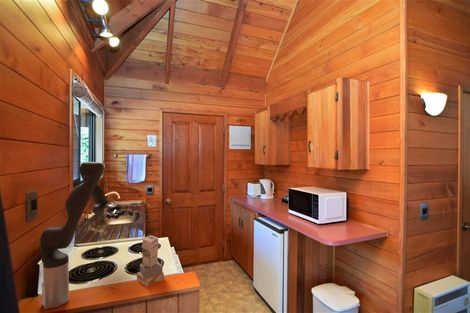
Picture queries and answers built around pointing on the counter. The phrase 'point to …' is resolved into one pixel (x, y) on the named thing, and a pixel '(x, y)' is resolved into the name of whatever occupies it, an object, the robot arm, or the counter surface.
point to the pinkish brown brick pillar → (149, 251)
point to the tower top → (151, 270)
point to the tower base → (149, 279)
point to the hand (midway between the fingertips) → (125, 215)
